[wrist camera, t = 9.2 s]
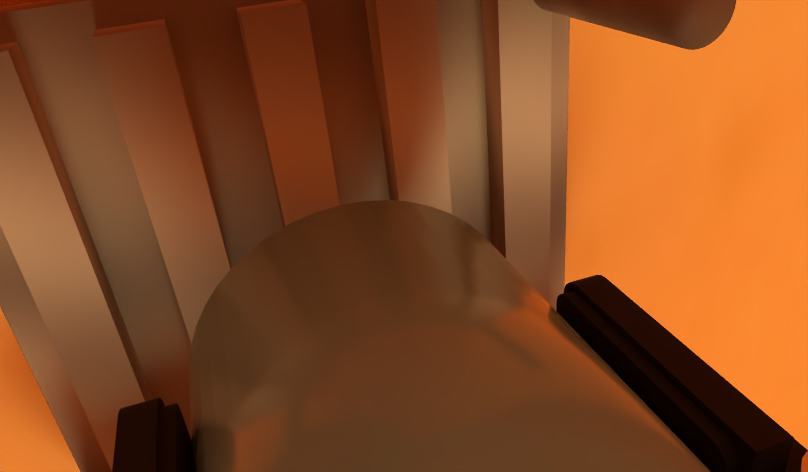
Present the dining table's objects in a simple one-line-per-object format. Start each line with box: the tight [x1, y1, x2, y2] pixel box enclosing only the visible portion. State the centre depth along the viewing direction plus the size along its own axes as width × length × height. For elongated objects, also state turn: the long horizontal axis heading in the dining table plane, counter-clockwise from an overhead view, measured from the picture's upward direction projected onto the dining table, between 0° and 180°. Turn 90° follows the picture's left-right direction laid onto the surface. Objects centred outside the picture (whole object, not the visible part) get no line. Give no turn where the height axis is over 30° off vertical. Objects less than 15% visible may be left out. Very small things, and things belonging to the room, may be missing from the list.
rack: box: [0, 0, 736, 472], centre depth 13 cm, size 12×13×6 cm
